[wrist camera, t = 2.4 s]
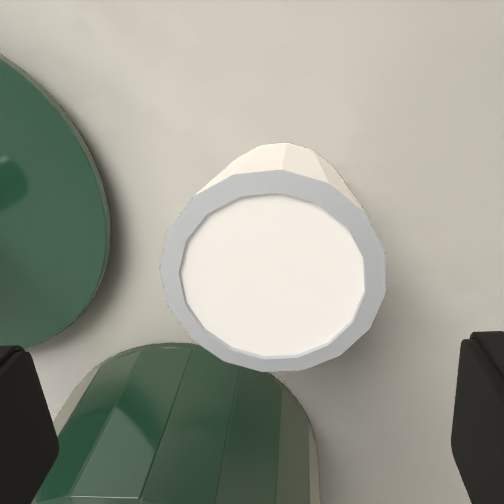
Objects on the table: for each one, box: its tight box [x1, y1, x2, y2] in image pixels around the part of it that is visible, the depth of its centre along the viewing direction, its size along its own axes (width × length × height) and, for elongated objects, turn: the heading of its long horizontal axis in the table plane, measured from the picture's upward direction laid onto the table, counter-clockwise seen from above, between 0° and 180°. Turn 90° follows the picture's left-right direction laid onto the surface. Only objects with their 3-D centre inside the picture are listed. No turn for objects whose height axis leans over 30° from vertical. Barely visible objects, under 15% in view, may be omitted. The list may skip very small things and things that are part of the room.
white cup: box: [160, 142, 386, 372], centre depth 17 cm, size 7×7×7 cm
